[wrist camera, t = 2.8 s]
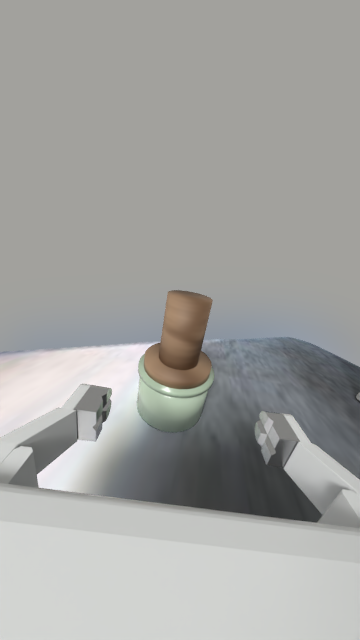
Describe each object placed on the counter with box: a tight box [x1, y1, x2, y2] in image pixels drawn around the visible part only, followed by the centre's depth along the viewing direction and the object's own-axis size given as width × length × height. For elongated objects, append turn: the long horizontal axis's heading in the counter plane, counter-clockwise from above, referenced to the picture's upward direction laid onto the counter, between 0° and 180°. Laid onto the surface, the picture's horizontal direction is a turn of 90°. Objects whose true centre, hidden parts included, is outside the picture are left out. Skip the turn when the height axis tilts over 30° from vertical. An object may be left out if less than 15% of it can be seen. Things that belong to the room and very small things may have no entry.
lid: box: [144, 290, 212, 389], centre depth 21 cm, size 8×8×9 cm
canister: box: [137, 354, 214, 432], centre depth 24 cm, size 10×10×6 cm
